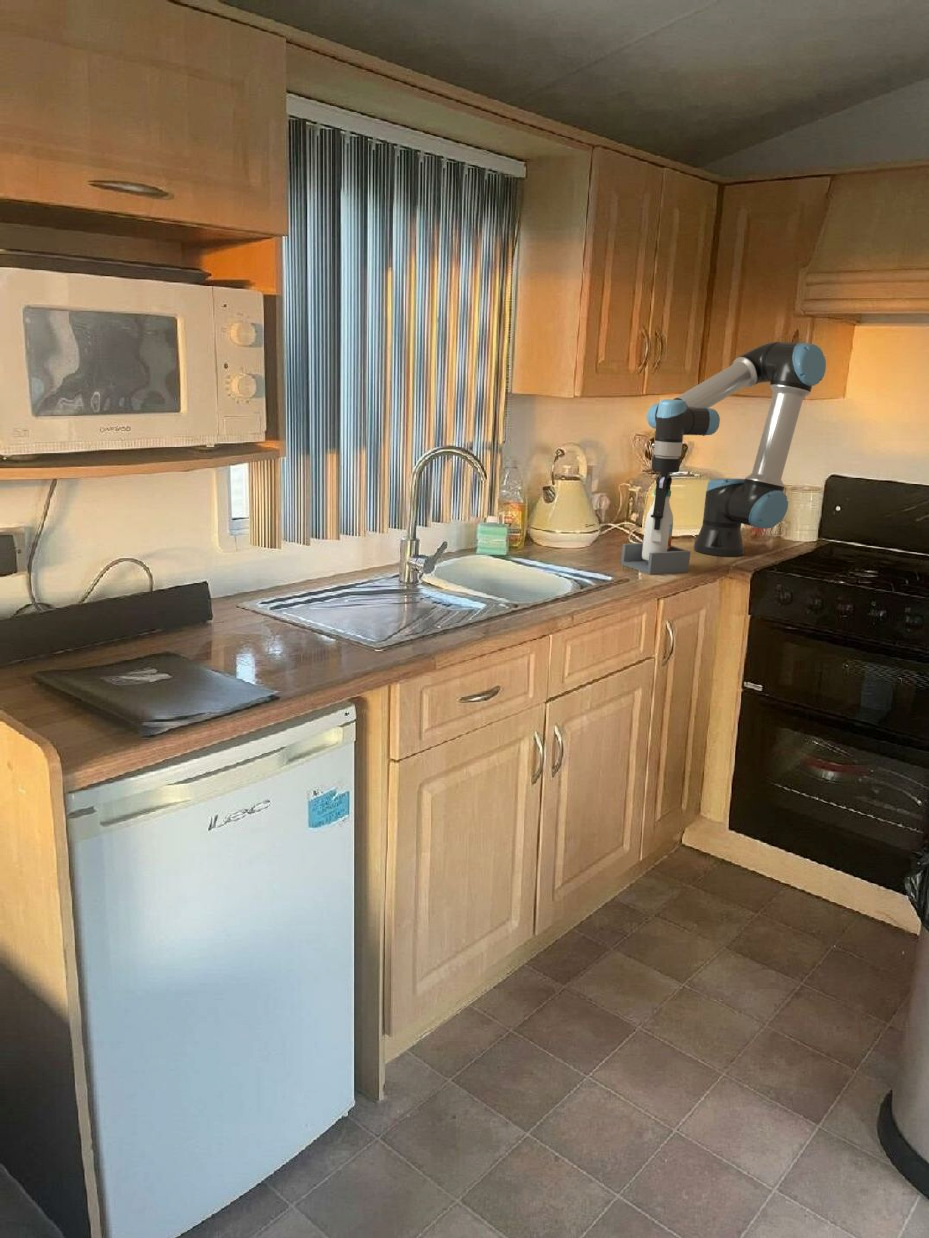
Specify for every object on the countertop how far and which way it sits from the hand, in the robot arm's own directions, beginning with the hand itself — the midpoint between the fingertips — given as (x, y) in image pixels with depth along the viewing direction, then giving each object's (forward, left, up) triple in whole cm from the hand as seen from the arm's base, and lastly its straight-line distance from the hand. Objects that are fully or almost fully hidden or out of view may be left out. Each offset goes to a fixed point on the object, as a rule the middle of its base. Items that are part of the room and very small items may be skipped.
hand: (657, 538), depth 272 cm
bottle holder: (0, 0, -9) cm, 9 cm away
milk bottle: (0, 0, -6) cm, 6 cm away
